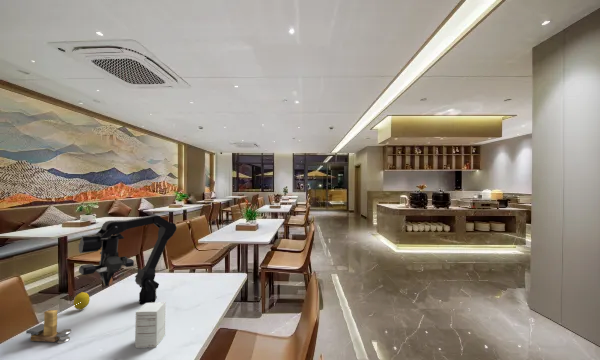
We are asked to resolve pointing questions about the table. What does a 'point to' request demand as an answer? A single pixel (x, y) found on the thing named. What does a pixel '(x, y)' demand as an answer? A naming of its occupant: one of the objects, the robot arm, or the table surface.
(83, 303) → the lemon
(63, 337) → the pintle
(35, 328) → the block
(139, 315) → the supplement box
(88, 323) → the table surface
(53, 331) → the link
